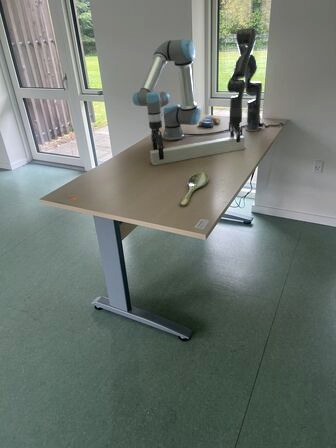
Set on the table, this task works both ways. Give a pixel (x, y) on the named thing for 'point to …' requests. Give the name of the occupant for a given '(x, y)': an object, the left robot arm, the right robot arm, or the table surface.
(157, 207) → the table surface
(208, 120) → the spray gun
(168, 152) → the beam
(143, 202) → the table surface
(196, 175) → the spoon
